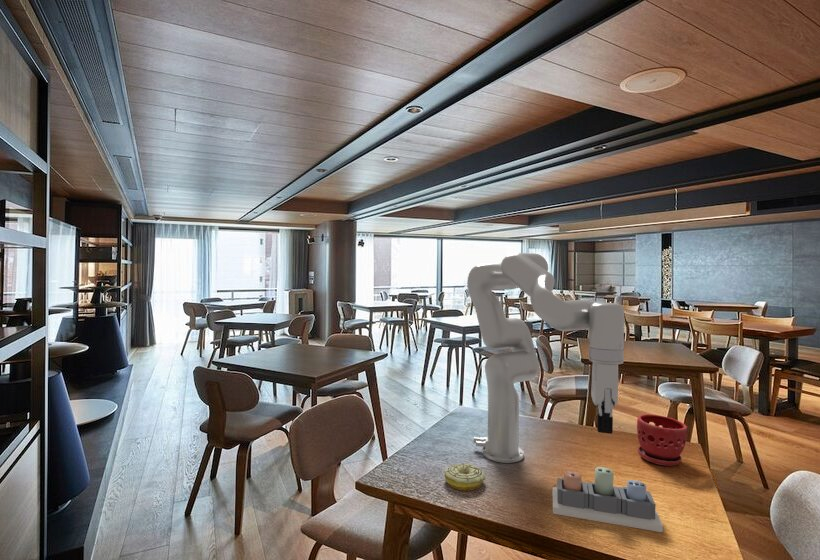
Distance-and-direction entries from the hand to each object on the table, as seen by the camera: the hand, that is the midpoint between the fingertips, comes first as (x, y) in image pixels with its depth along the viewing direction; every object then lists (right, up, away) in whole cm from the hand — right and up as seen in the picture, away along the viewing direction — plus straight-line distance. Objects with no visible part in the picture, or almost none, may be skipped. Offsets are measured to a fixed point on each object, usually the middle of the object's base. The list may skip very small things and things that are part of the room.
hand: (604, 431), depth 103 cm
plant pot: (+30, -19, +29) cm, 46 cm away
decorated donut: (-31, -19, +14) cm, 39 cm away
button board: (0, -19, +1) cm, 19 cm away
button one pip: (-7, -17, +3) cm, 18 cm away
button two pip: (0, -14, +1) cm, 14 cm away
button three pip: (+7, -17, -2) cm, 18 cm away
